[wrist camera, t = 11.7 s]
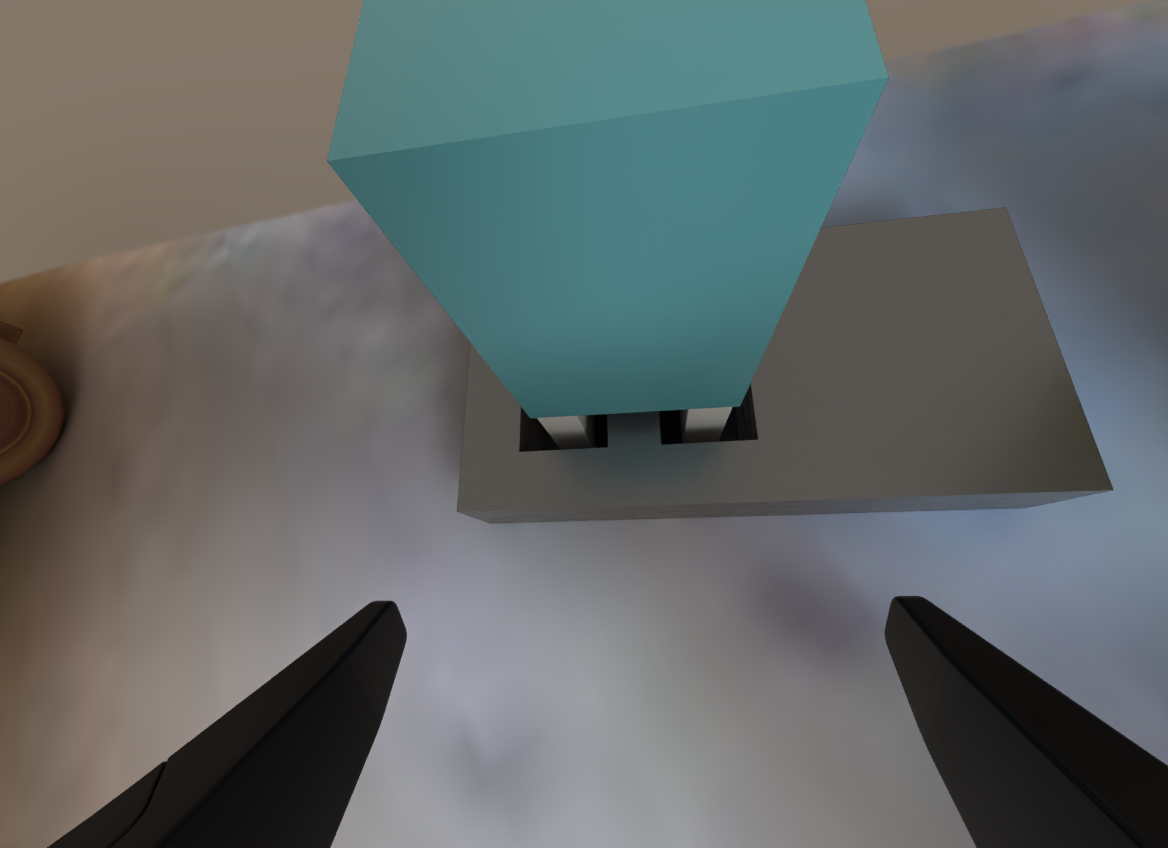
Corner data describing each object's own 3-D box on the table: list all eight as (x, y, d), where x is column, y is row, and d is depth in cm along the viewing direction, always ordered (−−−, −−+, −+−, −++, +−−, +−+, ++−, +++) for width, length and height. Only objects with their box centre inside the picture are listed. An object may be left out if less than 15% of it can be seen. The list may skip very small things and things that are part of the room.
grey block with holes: (1026, 507, 15) (1113, 490, 12) (490, 523, 17) (457, 511, 14) (950, 267, 17) (1005, 207, 15) (502, 310, 20) (476, 266, 17)
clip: (722, 445, 17) (888, 77, 5) (558, 453, 18) (326, 160, 5) (711, 346, 18) (819, -149, 6) (559, 358, 19) (375, -52, 7)
